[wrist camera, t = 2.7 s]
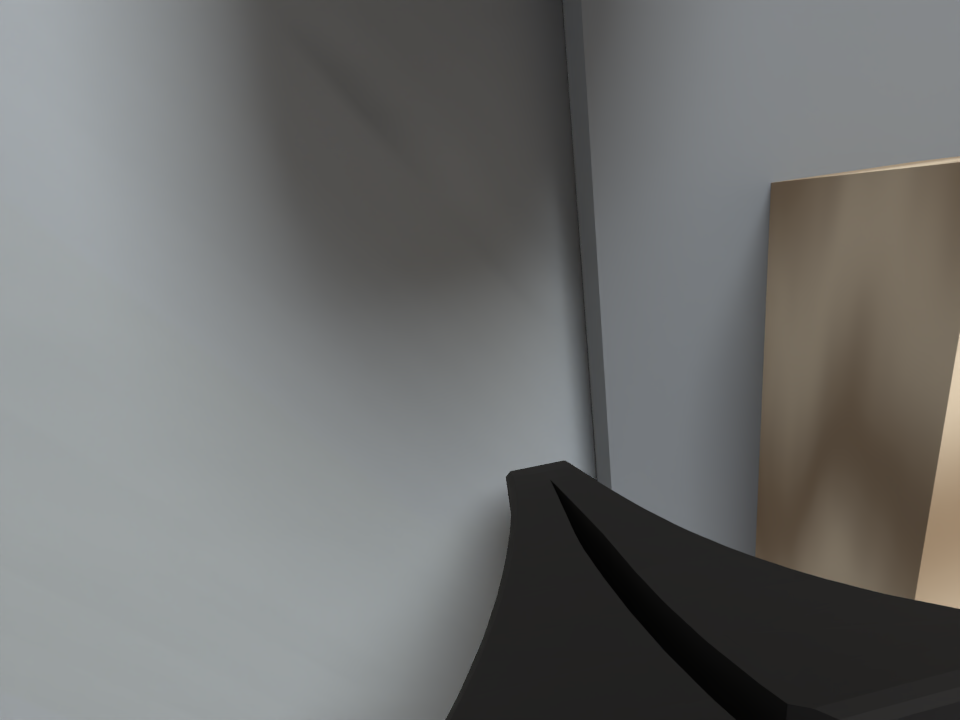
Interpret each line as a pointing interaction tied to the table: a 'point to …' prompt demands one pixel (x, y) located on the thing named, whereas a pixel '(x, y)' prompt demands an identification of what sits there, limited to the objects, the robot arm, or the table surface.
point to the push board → (721, 208)
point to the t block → (864, 380)
